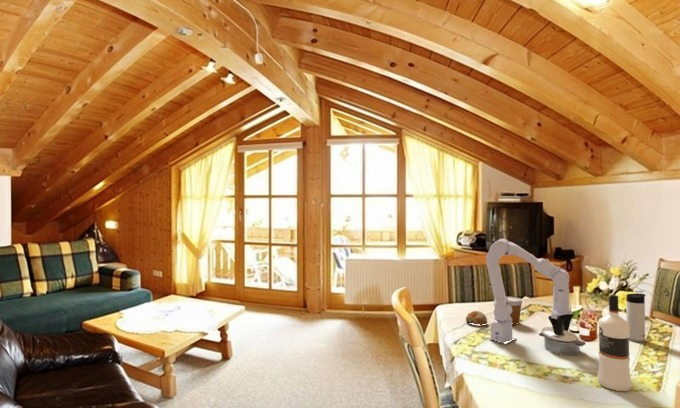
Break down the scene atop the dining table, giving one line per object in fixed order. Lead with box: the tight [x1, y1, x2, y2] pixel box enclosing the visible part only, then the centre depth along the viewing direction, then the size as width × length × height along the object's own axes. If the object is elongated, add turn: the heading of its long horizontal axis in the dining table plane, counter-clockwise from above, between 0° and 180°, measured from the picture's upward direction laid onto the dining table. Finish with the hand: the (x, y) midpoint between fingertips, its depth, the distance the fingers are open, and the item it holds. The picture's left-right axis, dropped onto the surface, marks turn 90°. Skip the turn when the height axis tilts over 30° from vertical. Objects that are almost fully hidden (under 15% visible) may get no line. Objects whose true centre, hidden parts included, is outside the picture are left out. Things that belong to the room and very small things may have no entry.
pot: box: [538, 331, 586, 357], centre depth 154 cm, size 12×16×5 cm
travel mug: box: [625, 292, 646, 344], centre depth 162 cm, size 6×7×20 cm
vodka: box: [596, 294, 633, 392], centre depth 124 cm, size 9×9×30 cm
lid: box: [541, 324, 578, 342], centre depth 154 cm, size 13×13×6 cm
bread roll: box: [465, 310, 488, 325], centre depth 187 cm, size 10×10×8 cm
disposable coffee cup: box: [506, 296, 523, 324], centre depth 187 cm, size 10×10×12 cm
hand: (561, 332), depth 154 cm, fingers open, 7 cm apart
